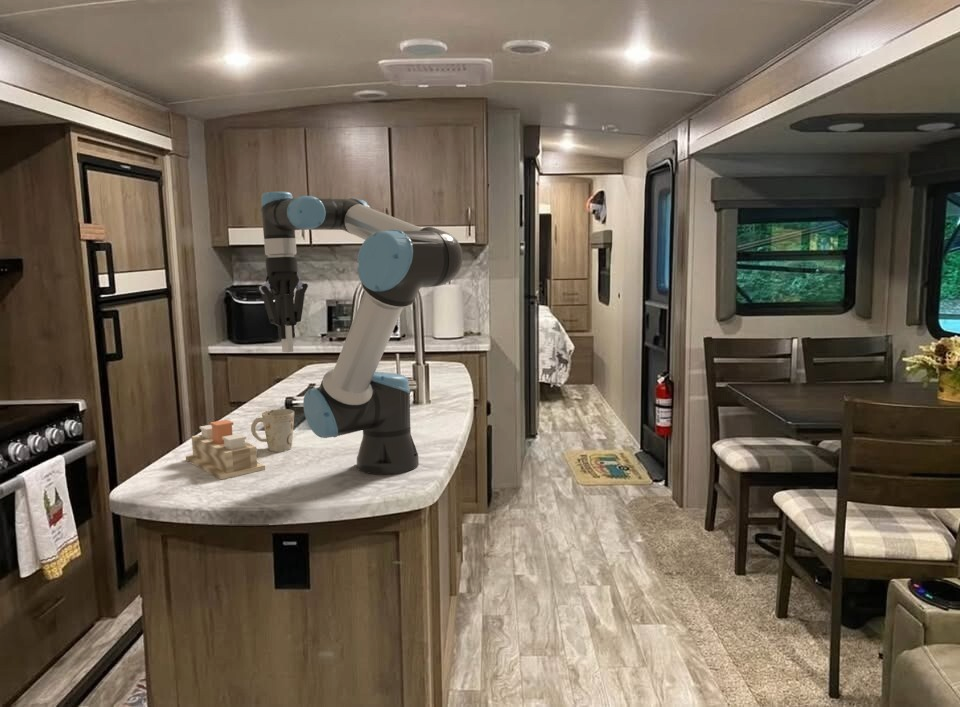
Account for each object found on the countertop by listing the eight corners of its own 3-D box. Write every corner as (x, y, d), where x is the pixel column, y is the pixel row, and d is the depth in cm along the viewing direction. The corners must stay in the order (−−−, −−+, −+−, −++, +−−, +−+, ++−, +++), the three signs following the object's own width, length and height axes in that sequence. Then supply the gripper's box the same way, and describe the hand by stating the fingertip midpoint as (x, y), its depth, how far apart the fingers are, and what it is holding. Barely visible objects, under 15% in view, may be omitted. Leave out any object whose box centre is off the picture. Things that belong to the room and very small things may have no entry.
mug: (287, 453, 195) (285, 416, 194) (243, 451, 198) (241, 415, 196) (301, 445, 203) (299, 409, 202) (259, 443, 206) (256, 408, 204)
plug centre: (235, 451, 186) (233, 422, 184) (218, 454, 183) (216, 425, 182) (228, 448, 189) (226, 419, 188) (211, 451, 186) (209, 422, 185)
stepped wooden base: (264, 469, 182) (263, 445, 181) (221, 479, 174) (219, 454, 174) (227, 451, 198) (225, 429, 197) (185, 460, 191) (184, 437, 190)
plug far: (224, 454, 191) (222, 426, 190) (208, 458, 188) (206, 429, 187) (217, 451, 194) (215, 423, 193) (201, 454, 191) (199, 426, 190)
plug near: (248, 466, 181) (246, 436, 180) (231, 470, 178) (229, 440, 177) (240, 462, 184) (238, 433, 183) (224, 466, 181) (222, 436, 180)
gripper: (296, 256, 190) (302, 347, 193) (249, 257, 181) (256, 353, 184) (312, 255, 185) (318, 349, 188) (264, 256, 175) (272, 355, 178)
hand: (287, 351), depth 186 cm, fingers closed
